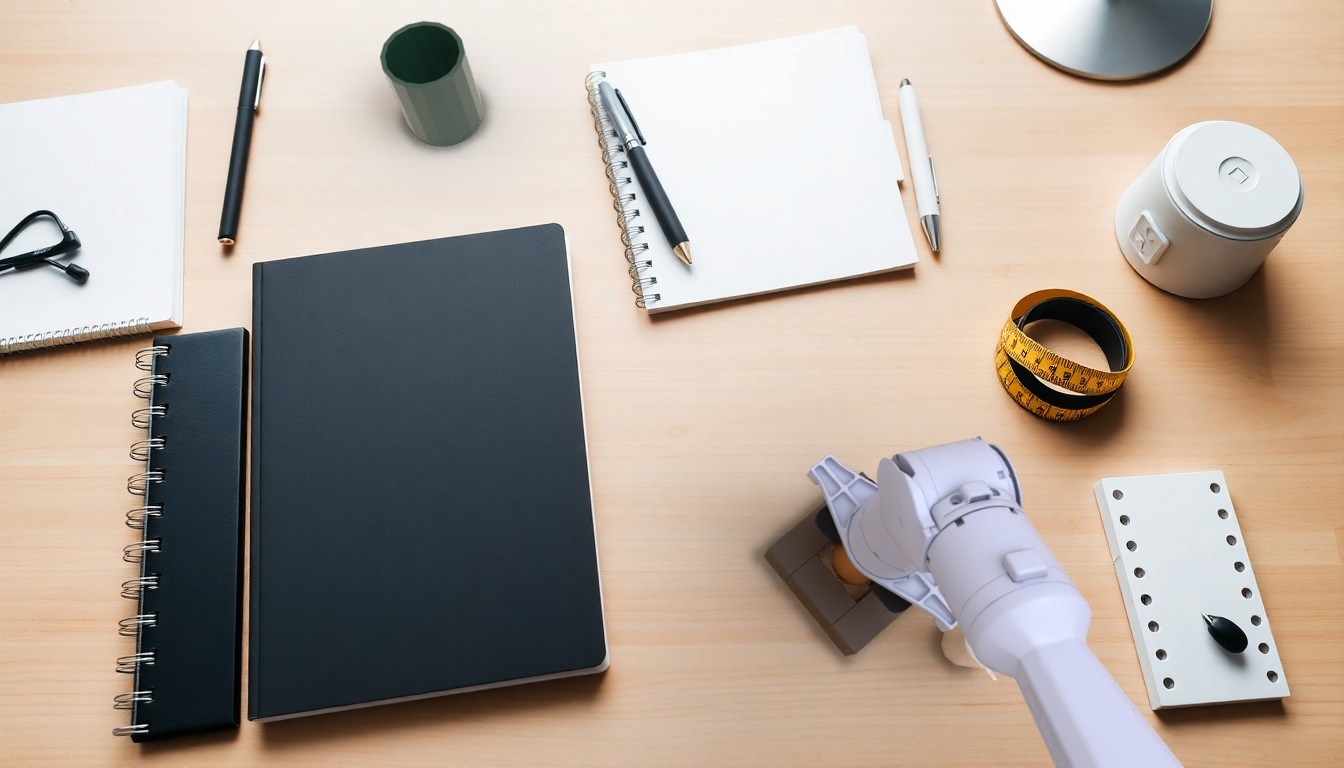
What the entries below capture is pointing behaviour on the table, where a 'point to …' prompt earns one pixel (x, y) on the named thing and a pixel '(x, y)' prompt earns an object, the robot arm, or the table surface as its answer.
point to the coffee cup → (433, 82)
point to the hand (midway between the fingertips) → (860, 557)
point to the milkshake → (960, 650)
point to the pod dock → (826, 588)
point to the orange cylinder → (847, 567)
